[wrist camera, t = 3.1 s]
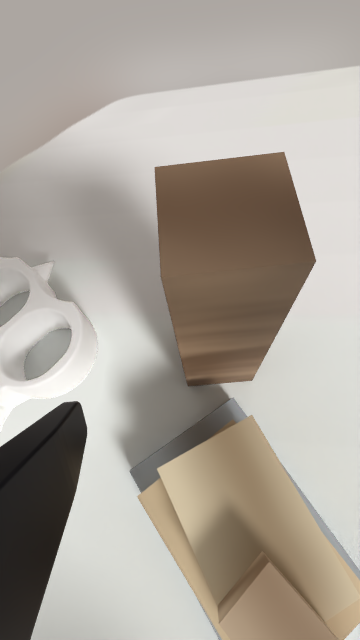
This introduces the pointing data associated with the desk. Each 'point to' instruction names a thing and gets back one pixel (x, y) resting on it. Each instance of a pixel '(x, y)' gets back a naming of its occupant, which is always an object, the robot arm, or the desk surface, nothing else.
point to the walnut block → (229, 260)
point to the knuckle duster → (39, 337)
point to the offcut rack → (247, 534)
